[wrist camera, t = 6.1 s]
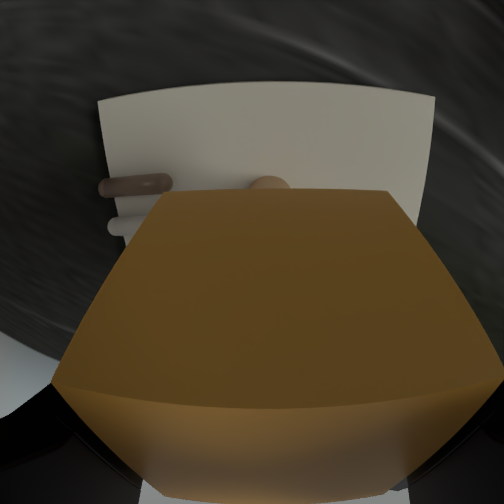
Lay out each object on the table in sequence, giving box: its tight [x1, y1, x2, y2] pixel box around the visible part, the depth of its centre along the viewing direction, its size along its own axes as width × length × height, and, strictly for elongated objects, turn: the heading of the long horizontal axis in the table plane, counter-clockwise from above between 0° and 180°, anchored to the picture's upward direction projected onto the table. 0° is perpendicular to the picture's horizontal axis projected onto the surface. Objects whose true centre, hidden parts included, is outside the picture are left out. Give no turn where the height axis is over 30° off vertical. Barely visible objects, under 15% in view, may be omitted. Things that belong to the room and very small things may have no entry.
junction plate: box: [98, 81, 435, 246], centre depth 14 cm, size 16×11×5 cm, turn 92°
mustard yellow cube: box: [51, 188, 504, 504], centre depth 7 cm, size 6×6×6 cm
